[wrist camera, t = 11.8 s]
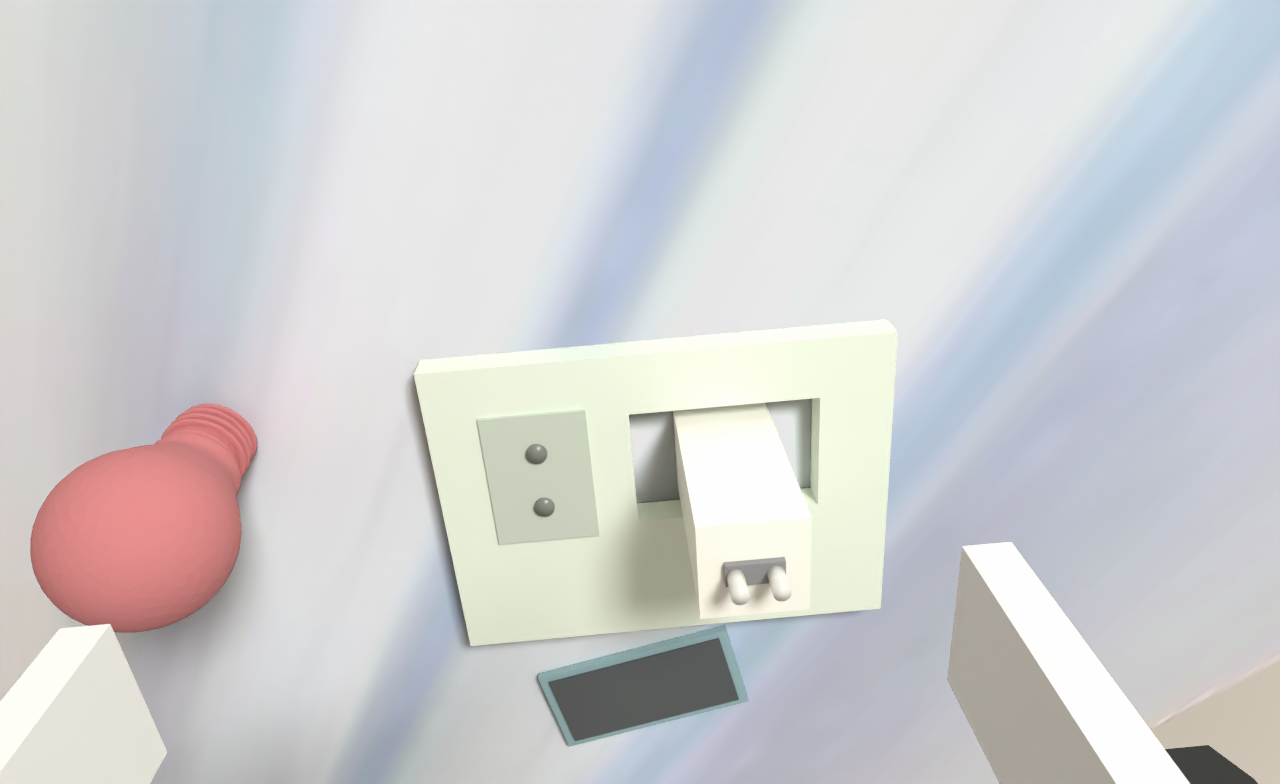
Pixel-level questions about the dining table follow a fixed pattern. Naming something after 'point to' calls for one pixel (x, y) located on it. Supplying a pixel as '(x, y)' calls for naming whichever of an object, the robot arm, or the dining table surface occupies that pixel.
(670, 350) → the outlet plate
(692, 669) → the phone
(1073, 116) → the dining table surface
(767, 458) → the charger
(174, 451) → the light bulb
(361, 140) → the dining table surface
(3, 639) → the dining table surface
